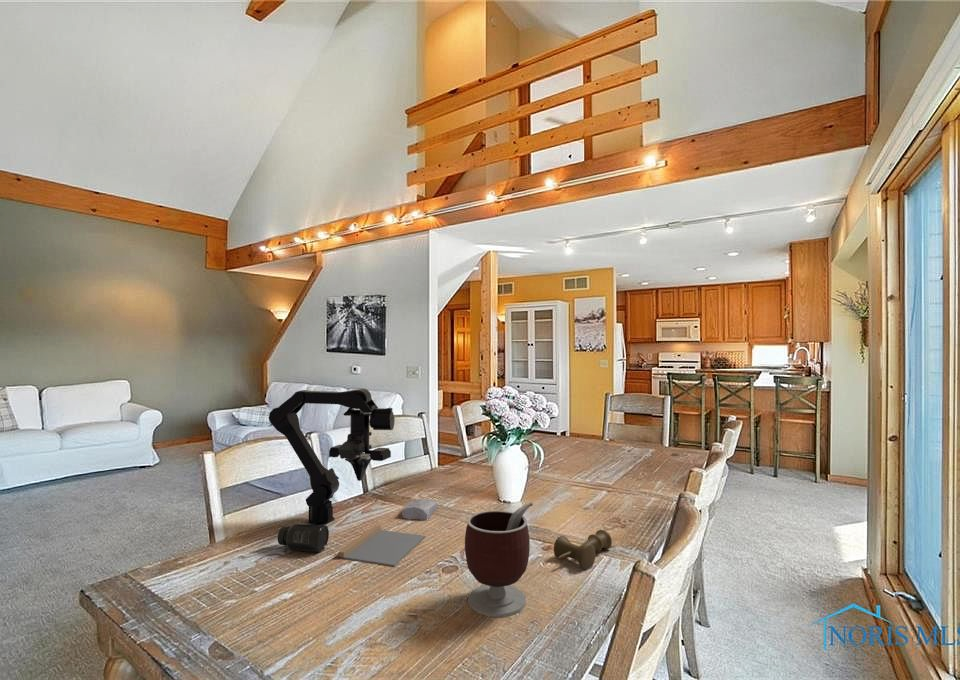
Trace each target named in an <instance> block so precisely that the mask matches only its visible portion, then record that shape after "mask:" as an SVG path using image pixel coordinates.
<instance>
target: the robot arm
mask: <svg viewBox="0 0 960 680" xmlns="http://www.w3.org/2000/svg"><path fill="white" fill-rule="evenodd" d="M305 404H311V405H312V404H315V405H317V404H318V405H340V406H343V407H345V408H348V409H347V410H346V411H345V412H344V413H342V415H343V416H345V417H346V416H347V417H348V416H350V424H349V425H350V428H349V429H350V431H349V433H348V434H347V438H346V439H347V440H346V441H344V442H342V444H336V445H335V446H331V447H330V449H329V451H328V457H329V458H338V457H340V459H342V460H345V461H346V462H348V463H349V464H350V465H351V467H352V469H353V472H354V474H355V478H356V480H357V481H359V482H361V481H362V480H363V477H364V476H365V474H366V471H367V469H368V467H369V465H370V463H371V461H377V462H383V461H386V460H387V459H389V458H392V451H391V449H390V448H389V447H377V448H374V449H372V444H370V436H372V431H370V428H372V430H374V431H393V430H394V427H395V415H394V412H393V407H386V408H385V407H383V408H381V407H378V406H377V404H376V402H375V401H374V399H372V394H371V392H370V391H369V390H368V389H367V388H357V389H351V390H350V389H349V390H345V391H327V390H326V391H324V390H306V389H302V390H298V391H296V392H294V393H293V394H292V395H291V397H289V398H287V400H286V401H283V402H282V403H281V404H280V405H279V406H277V407H275V408H272V410H270V412H269V415H268V422H269V423H270V424H271V425H272V426H273V428H275V430H276V431H277V432H278V433H281V434H282V435H283V436H285V438H286V439H287V441H288V442H289V444H290V446H291V448H292V449H293V451H294V452H295V454H296V456H297V458H298V459H299V461H300V462H301V464H302V466H303V468H304V469H305V471H306V473H307V474H308V475H309V482H310V488H311V490H312V492H311V493H310V494H309V495H308V496H307V497H306V498H305V503H306V505H307V506H308V520H306V521H304V523H310V524H324V525H326V526H327V525H328V524H329V523H330V522H332V521H334V520H335V518H336V517H333V516H334V508H333V507H334V506H333V500H331V499H333V497H334V495H335V493H337V492H338V490H339V487H340V481H339V479H340V477H339V476H337V474H336V472H335V471H334V468H333V467H331V468H330V469H328V468H326V467H325V466H324V465H323V463H322V462H321V461H320V459H319V458H318V455H317V454H316V453H315V450H314V449H313V447H312V446H311V444H310V443H309V441H308V440H307V437H306V436H305V435H304V432H303V430H301V428H300V418H299V416H298V413H299V412H300V411H301V410H302V409H303V407H304V406H305Z"/></svg>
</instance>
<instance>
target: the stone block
mask: <svg viewBox="0 0 960 680" xmlns="http://www.w3.org/2000/svg"><path fill="white" fill-rule="evenodd" d="M438 507H439V505H438V499H432V498H431V499H429V498H419V499H413V500H410V501H409V502H408V503H407V504H406V505H405V506H404V507H403V508H402V509H401V516H402V518H403V519H404V518H406V519H405V520H410V519H422V520H421V521H428V520H429V519H430V518H431V517H432V516H433V515H434V513H435V512H436V511H437V510H436V509H438ZM432 514H433V515H432ZM431 515H432V516H431ZM430 516H431V517H430ZM427 519H428V520H427Z"/></svg>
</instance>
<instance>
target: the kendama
mask: <svg viewBox="0 0 960 680" xmlns="http://www.w3.org/2000/svg"><path fill="white" fill-rule="evenodd" d="M612 541H613V540H612V537H611V535H610V533H609V532H608V531H606V530H604V529H599V530H597V531H596V532H595V534H593V533H592V534H589V535H588V537H587V540H586V541H585V542H584V543H582V544H580V545H577V544H573V543H572V542H571V541H570V540H569V539H568V537H566V536H565V535H560V536H558V537H557V538H556V539H555V540H554V544H553V554H554V557H555V558H557V560H561V559H564V558H570V559H573V560H574V561H577V563H578V564H579V566H580V568H581V569H583V570H584V569H587V570H589V569H591V568H592V567H593V565H594V564H595V561H596V553H598V552H601V550H602V548H604V549H603V550H606V549H607V550H609V549H611V547H612V543H613V542H612ZM591 566H592V567H591ZM590 567H591V568H590ZM588 568H589V569H588Z"/></svg>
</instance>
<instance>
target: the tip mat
mask: <svg viewBox="0 0 960 680" xmlns="http://www.w3.org/2000/svg"><path fill="white" fill-rule="evenodd" d="M381 527H382V526H381V525H379V524H378V525H377V524H375V525H374V526H373V527H371V528H370V529H368V530H367V531H366V532H364V533H363V534H361V535H360V536H358V537H357V538H356V539H354V540H353V541H351V542H350V543H349V544H347V545H346V546H344V547H343V548H342V549H339V551H338V554H337V555H338V559H343V560H352V561H355V560H356V561H357V562H361V563H362V562H363V563H369V564H376V565H383V566H386V567H387V566H389V567H396V565H398V564H399V563H400V562H401V561H402V560H403V559H404V558H405V557H406V556H407V555H408V554H409V553H410V552H411V551H412V550H414V548H416V547H417V546H418V545H420V544H421V542H423V540H424V539H426V535H422V534H415V533H409V532H408V533H407V532H399V531H392V530H386V529H385V530H384V529H382V528H381Z"/></svg>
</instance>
